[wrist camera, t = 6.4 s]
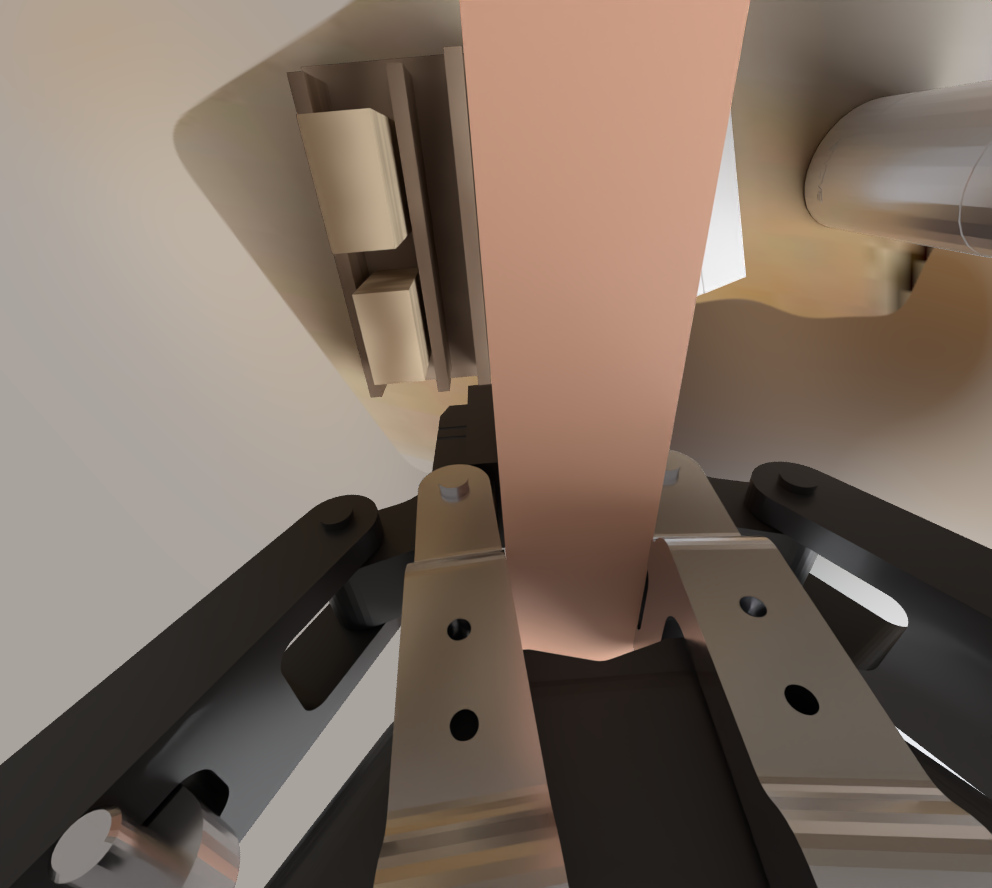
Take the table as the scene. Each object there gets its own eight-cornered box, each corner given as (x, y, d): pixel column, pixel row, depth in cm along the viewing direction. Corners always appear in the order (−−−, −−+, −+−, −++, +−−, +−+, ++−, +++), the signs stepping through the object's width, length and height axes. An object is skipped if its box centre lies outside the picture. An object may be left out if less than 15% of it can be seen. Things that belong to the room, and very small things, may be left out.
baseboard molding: (615, 322, 43) (737, 272, 41) (623, 332, 41) (754, 279, 39) (494, -126, 27) (685, -247, 25) (496, -154, 25) (708, -291, 23)
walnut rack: (529, 52, 31) (549, 12, 23) (536, 362, 44) (550, 409, 36) (310, 72, 31) (250, 39, 23) (381, 375, 44) (360, 424, 36)
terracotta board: (518, 19, 16) (1123, -2074, 1) (531, 457, 27) (600, 827, 12) (464, 24, 16) (293, -1988, 1) (499, 459, 27) (529, 832, 12)
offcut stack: (397, 122, 32) (369, 108, 23) (432, 345, 41) (422, 392, 32) (343, 127, 32) (295, 114, 23) (391, 348, 41) (369, 396, 33)
